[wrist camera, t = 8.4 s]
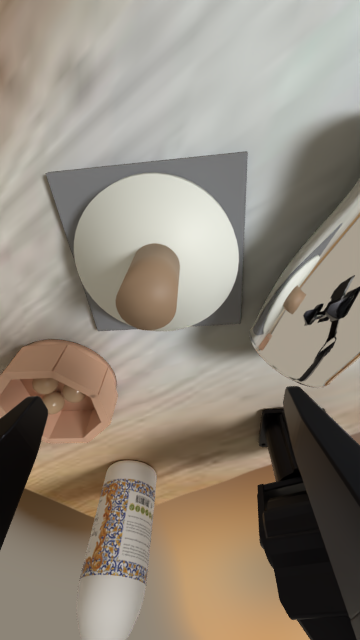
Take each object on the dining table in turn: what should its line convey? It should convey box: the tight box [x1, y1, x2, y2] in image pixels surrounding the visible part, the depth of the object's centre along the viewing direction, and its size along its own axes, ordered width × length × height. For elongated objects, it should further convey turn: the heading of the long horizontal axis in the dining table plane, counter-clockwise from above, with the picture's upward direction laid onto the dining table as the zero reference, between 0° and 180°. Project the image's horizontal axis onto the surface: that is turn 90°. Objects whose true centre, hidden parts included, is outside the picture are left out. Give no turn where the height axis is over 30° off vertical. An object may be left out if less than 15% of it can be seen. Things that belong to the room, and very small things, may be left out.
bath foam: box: [77, 460, 157, 640], centre depth 30 cm, size 7×7×20 cm
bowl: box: [0, 339, 118, 443], centre depth 26 cm, size 10×10×4 cm
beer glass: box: [249, 178, 360, 388], centre depth 16 cm, size 7×7×15 cm
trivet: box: [46, 152, 248, 331], centre depth 20 cm, size 12×12×1 cm
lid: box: [74, 172, 239, 331], centre depth 17 cm, size 11×11×6 cm
